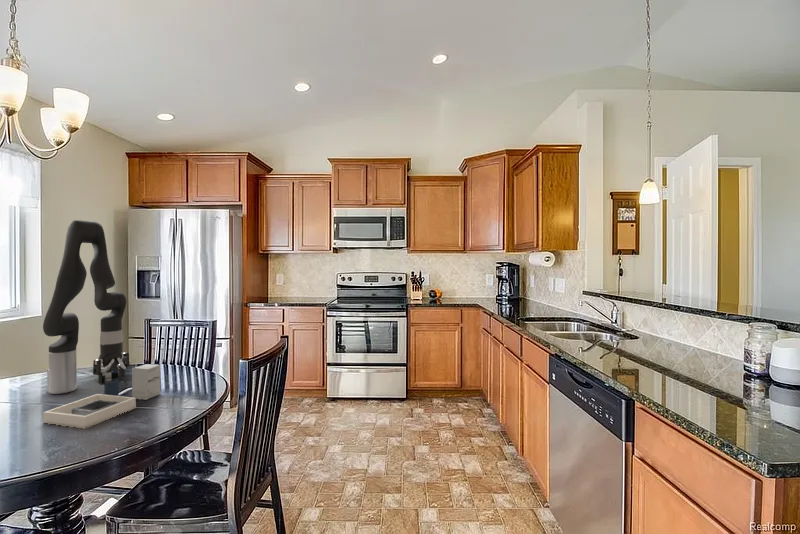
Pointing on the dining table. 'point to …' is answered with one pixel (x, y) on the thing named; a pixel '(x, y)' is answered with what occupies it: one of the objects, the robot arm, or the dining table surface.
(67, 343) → the robot arm
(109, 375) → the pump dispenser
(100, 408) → the inlet socket
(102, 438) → the dining table surface
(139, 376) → the supplement box
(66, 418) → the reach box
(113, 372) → the vaping device
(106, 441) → the dining table surface
